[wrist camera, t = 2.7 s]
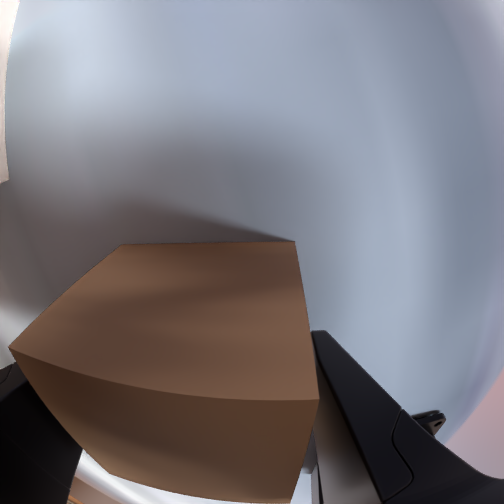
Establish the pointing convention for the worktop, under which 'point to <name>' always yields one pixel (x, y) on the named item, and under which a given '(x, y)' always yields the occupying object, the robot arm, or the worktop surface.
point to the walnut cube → (183, 367)
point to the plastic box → (3, 17)
